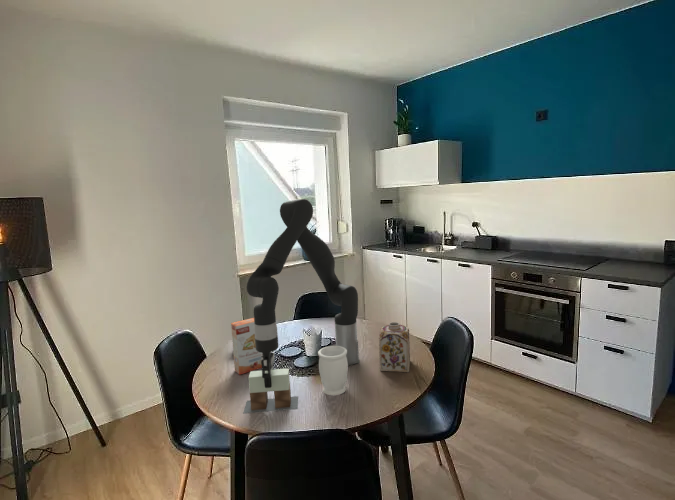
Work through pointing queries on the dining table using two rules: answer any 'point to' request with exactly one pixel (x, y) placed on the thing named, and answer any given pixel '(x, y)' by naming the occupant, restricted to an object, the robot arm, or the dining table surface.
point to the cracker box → (245, 347)
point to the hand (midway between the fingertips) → (269, 381)
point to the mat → (271, 406)
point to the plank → (278, 380)
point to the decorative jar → (394, 348)
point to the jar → (333, 369)
